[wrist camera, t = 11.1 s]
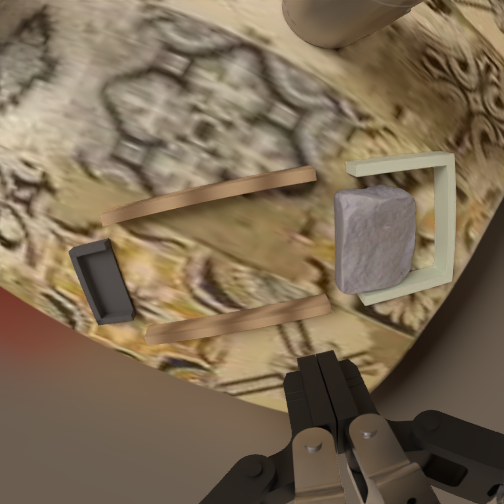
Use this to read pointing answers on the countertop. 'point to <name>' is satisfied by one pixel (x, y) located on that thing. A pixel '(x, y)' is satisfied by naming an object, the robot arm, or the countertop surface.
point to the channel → (239, 318)
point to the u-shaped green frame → (443, 219)
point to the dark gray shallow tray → (102, 282)
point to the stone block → (373, 237)
